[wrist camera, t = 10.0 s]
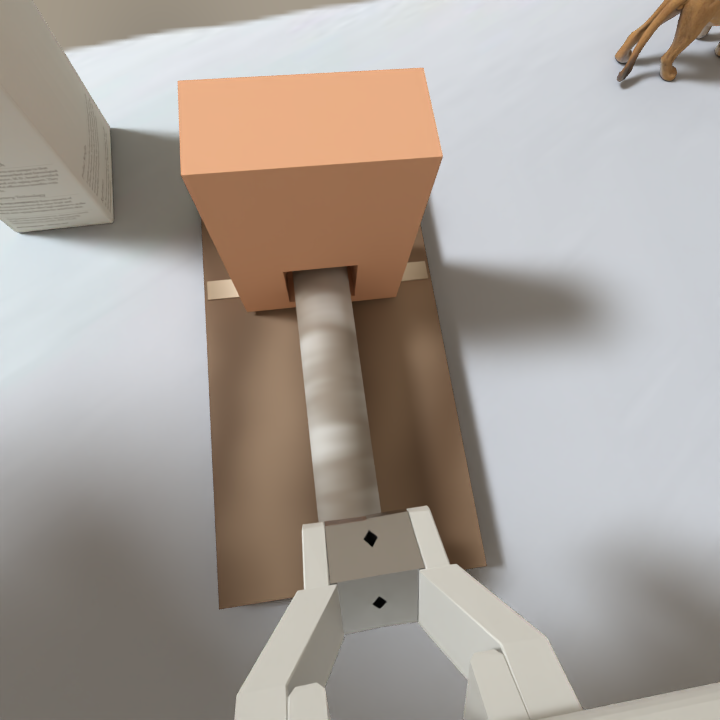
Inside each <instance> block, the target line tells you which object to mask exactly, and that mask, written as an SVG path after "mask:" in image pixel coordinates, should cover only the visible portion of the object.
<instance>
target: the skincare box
mask: <svg viewBox="0 0 720 720" xmlns="http://www.w3.org/2000/svg"><path fill="white" fill-rule="evenodd" d="M0 220H1V221H3V222H4V223H5V224H6V225H7V226H9V227H10V228H11V229H13V230H14V231H15V232H17V233H22V232H31V231H40V230H49V229H59V228H68V227H78V226H88V225H97V224H107V223H113V221H114V216H113V186H112V160H111V137H110V126H109V124H108V123H107V121H106V120H105V118H104V117H103V115H102V113H101V112H100V110H99V109H98V107H97V105H96V104H95V102H94V100H93V99H92V97H91V95H90V94H89V92H88V91H87V89H86V87H85V86H84V84H83V82H82V81H81V79H80V77H79V76H78V74H77V72H76V71H75V69H74V67H73V66H72V64H71V63H70V61H69V59H68V58H67V56H66V54H65V53H64V51H63V49H62V48H61V46H60V45H59V43H58V41H57V39H56V38H55V36H54V35H53V33H52V31H51V30H50V28H49V26H48V25H47V23H46V21H45V20H44V18H43V16H42V15H41V13H40V12H39V10H38V8H37V7H36V5H35V4H34V2H33V0H0Z"/></svg>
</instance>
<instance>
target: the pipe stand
mask: <svg viewBox="0 0 720 720" xmlns="http://www.w3.org/2000/svg"><path fill="white" fill-rule="evenodd" d="M201 225H202V247H203V269H204V290H205V312H206V334H207V356H208V377H209V399H210V421H211V443H212V464H213V486H214V508H215V529H216V551H217V573H218V595H219V609H225V608H231V607H237V606H243V605H249V604H256V603H262V602H268V601H274V600H280V599H286V598H293V597H294V596H295V594H296V592H297V591H298V590H303V589H304V576H303V549H302V526H303V524H310V523H317V522H324V524H325V521H331V520H338V519H346V518H354V517H362V516H365V515H370V514H376V513H382V512H388V511H394V510H400V509H408V508H414V507H421V506H428V507H429V508H430V511H431V514H432V516H433V519H434V522H435V524H436V527H437V530H438V533H439V535H440V538H441V541H442V543H443V546H444V549H445V552H446V554H447V557H448V560H449V563H450V565H451V564H457V565H459V566H460V567H461V568H462V569H464V570H465V569H471V568H477V567H484V566H487V564H486V559H485V554H484V549H483V544H482V538H481V533H480V528H479V523H478V518H477V513H476V508H475V502H474V497H473V492H472V487H471V482H470V477H469V472H468V466H467V461H466V456H465V451H464V446H463V441H462V436H461V430H460V425H459V420H458V415H457V410H456V405H455V400H454V394H453V389H452V384H451V379H450V374H449V369H448V364H447V359H446V353H445V348H444V343H443V338H442V333H441V328H440V323H439V317H438V312H437V307H436V302H435V297H434V292H433V287H432V281H431V276H430V271H429V266H428V261H427V256H426V251H425V245H424V240H423V235H422V230H421V225H420V226H419V229H418V232H417V235H416V238H415V241H414V244H413V247H412V250H411V253H410V256H409V259H408V262H407V265H406V268H405V271H404V274H403V277H402V280H401V283H400V286H399V289H398V292H397V295H396V297H391V298H382V299H372V300H362V301H351V294H350V287H349V280H348V273H347V266H342V267H332V268H321V269H311V270H300V271H292V272H293V282H294V292H295V301H296V307H293V308H283V309H273V310H264V311H254V312H247V311H246V309H245V307H244V305H243V303H242V301H241V299H240V297H239V295H238V292H237V290H236V288H235V286H234V284H233V282H232V280H231V278H230V276H229V274H228V272H227V270H226V268H225V266H224V264H223V261H222V259H221V257H220V255H219V253H218V251H217V249H216V247H215V245H214V243H213V241H212V239H211V237H210V235H209V233H208V230H207V228H206V226H205V224H204V222H203V220H202V218H201Z"/></svg>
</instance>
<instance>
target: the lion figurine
mask: <svg viewBox="0 0 720 720" xmlns="http://www.w3.org/2000/svg"><path fill="white" fill-rule="evenodd" d="M678 14H680V17H679V20H678V25H677V30H676V33H675V37H674V40H673V43H672V45H671V47H670V48H669V49H668V51H667V52H666V53H665V54H664V55H663V56H662V57H661V59H660V62H661V65H660V76H661V77H662V78H663V79H664V80H667V81H671V80H674V78H675V77H676V75H677V70H676V68H675V67H674V66H672V63H673V61H674V60H675V58H676V57H677V56H678V55H679V54H680V53H681V52H682V51H683V50H684V49H685V48H686V47H687V46H688V45H689V44H690V43H692V42H693V41H694V40H695V39H696V38H697V39H699V38H702V37H704V36H705V35H706V34H707V33H708V32H709V30H710V29H711V27H712V26H720V0H664V2H663V3H662V4H661V5H660V6H659V8H658V9H657V10H656V11H655V12H654V14H653V15H652V16H651V17H650V18H649V19H648V20H647V21H646V22H645V23H644V24H643V25H642V26H641V27H639V28H638V29H637V30H635V31H634V32H632V33H631V34H630V35H629V36H628V38H627V40H626V41H625V43H624V44H623V45H622V47H621V48H620V49H619V51H618V52H617V53H616V55H615V58H616V59H617V61H619V62H621V63H625V62H627V64H626V66H625V67H624V68H623V70H622V71H621V72H620V73H619V75H618V76H617V81H619V82H621V81H622V80H624V79H625V78H626V77H627V76H628V74H629V73H630V72H631V71H632V68H633V65H634V63H635V61H636V59H637V57H638V55H639V53H640V52H641V50H642V49H643V47H644V46H645V44H646V43H647V42H648V40H649V39H650V37H651V36H652V35H653V33H654V32H655V31H656V29H657V28H658V27H659V26H660V25H661V24H663V23H665V22H666V21H668V20H669V19H671V18H673V17H675V16H676V15H678ZM637 42H638V43H637ZM636 43H637V45H636V47H635V48H634V50H633V52H632V51H631V49H632V48H633V46H634V45H635V44H636ZM715 52H716V55H718V56H720V42H719V44H718V46H717V47H716V49H715Z"/></svg>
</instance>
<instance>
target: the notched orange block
mask: <svg viewBox="0 0 720 720" xmlns="http://www.w3.org/2000/svg"><path fill="white" fill-rule="evenodd" d="M178 104H179V135H180V165H181V177H182V179H183V181H184V183H185V185H186V187H187V189H188V191H189V193H190V195H191V197H192V199H193V201H194V204H195V206H196V208H197V210H198V212H199V214H200V216H201V218H202V220H203V222H204V224H205V226H206V228H207V230H208V233H209V235H210V237H211V239H212V241H213V243H214V245H215V247H216V249H217V251H218V253H219V255H220V257H221V259H222V261H223V264H224V266H225V268H226V270H227V272H228V274H229V276H230V278H231V280H232V282H233V284H234V286H235V288H236V290H237V292H238V295H239V297H240V299H241V301H242V303H243V305H244V307H245V309H246V311H247V312H254V311H264V310H273V309H283V308H293V307H296V301H295V292H294V282H293V272H292V271H300V270H311V269H321V268H332V267H342V266H347V273H348V280H349V287H350V294H351V301H362V300H372V299H382V298H391V297H396V295H397V292H398V289H399V286H400V283H401V280H402V277H403V274H404V271H405V268H406V265H407V262H408V259H409V256H410V253H411V250H412V247H413V244H414V241H415V238H416V235H417V232H418V229H419V226H420V223H421V220H422V217H423V214H424V211H425V208H426V205H427V202H428V199H429V196H430V193H431V190H432V187H433V184H434V181H435V178H436V175H437V172H438V169H439V166H440V163H441V160H442V157H443V155H442V150H441V146H440V141H439V137H438V132H437V128H436V123H435V119H434V114H433V109H432V105H431V100H430V96H429V91H428V87H427V82H426V78H425V73H424V68H409V69H390V70H372V71H353V72H334V73H315V74H296V75H277V76H258V77H240V78H221V79H202V80H183V81H178Z"/></svg>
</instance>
